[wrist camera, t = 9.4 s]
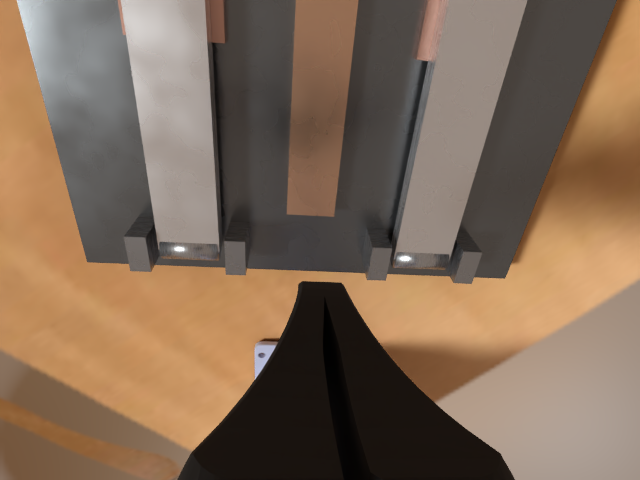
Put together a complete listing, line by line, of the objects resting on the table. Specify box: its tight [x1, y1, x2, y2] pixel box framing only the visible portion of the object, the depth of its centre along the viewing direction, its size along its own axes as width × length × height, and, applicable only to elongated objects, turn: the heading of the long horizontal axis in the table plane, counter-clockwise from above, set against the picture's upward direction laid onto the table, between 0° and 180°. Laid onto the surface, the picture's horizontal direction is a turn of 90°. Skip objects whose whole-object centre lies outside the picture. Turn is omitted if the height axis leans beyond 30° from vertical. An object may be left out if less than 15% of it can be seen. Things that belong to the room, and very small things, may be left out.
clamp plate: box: [17, 0, 617, 284], centre depth 18 cm, size 16×24×4 cm, turn 85°
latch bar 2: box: [390, 0, 527, 270], centre depth 18 cm, size 13×3×1 cm, turn 175°
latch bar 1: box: [121, 0, 223, 261], centre depth 17 cm, size 13×3×1 cm, turn 175°
